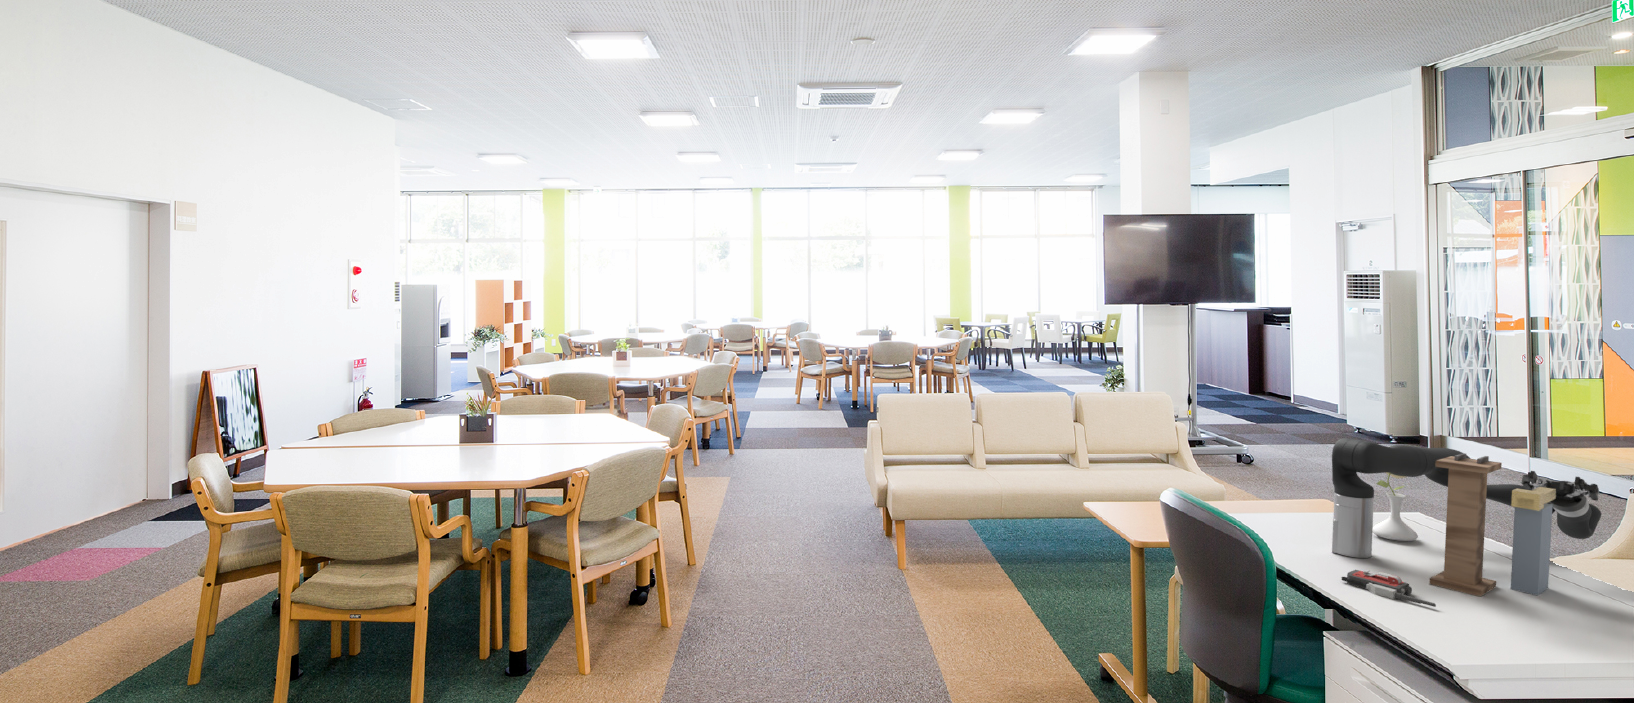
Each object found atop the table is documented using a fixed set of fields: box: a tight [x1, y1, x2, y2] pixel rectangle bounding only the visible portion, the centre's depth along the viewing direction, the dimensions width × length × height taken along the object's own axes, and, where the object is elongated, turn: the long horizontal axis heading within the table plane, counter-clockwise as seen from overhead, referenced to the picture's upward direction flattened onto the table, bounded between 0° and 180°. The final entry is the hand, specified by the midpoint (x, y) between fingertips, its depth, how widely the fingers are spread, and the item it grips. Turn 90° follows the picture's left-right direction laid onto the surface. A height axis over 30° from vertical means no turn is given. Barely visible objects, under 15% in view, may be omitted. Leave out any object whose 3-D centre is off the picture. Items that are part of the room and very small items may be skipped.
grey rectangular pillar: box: [1510, 503, 1553, 596], centre depth 183 cm, size 9×5×22 cm, turn 123°
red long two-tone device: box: [1341, 569, 1437, 608], centre depth 180 cm, size 9×4×20 cm
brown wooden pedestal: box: [1429, 452, 1502, 597], centre depth 185 cm, size 12×10×33 cm
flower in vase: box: [1372, 473, 1419, 542], centre depth 225 cm, size 13×11×25 cm
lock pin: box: [1510, 487, 1556, 511], centre depth 184 cm, size 20×5×4 cm, turn 123°
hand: (1554, 476), depth 191 cm, fingers open, 8 cm apart
